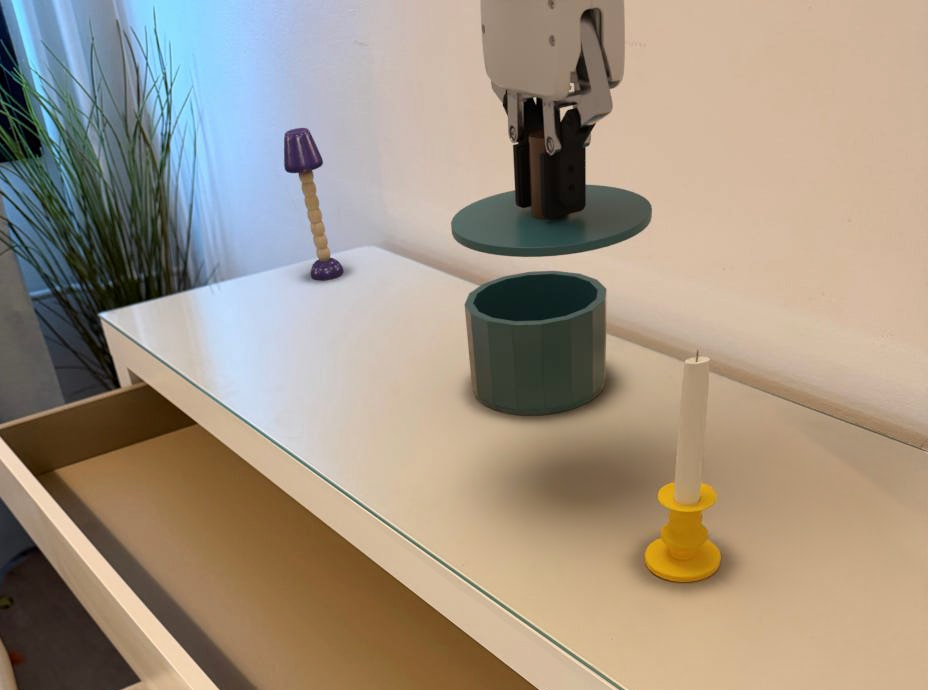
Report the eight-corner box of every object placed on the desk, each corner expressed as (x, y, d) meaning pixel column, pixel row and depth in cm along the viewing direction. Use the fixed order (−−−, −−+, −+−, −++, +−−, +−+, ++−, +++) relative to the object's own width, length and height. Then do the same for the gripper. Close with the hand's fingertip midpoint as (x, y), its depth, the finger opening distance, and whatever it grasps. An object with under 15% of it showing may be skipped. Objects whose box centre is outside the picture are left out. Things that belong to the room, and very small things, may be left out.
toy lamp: (310, 283, 117) (281, 137, 106) (303, 272, 121) (274, 130, 110) (347, 275, 118) (322, 129, 107) (338, 265, 121) (313, 122, 111)
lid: (514, 195, 72) (509, 105, 68) (682, 208, 66) (688, 110, 62) (414, 254, 64) (403, 156, 60) (596, 276, 58) (597, 168, 54)
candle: (631, 550, 67) (638, 344, 57) (696, 532, 68) (714, 325, 58) (666, 590, 63) (680, 376, 53) (734, 570, 64) (760, 356, 54)
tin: (514, 348, 96) (509, 265, 90) (627, 367, 90) (629, 278, 85) (448, 401, 88) (439, 313, 83) (567, 425, 83) (565, 332, 77)
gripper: (687, -154, 48) (667, 223, 59) (525, -139, 59) (535, 174, 71) (563, -137, 45) (568, 251, 57) (419, -125, 57) (448, 196, 69)
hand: (550, 206), depth 64 cm, fingers closed on lid, 2 cm apart
